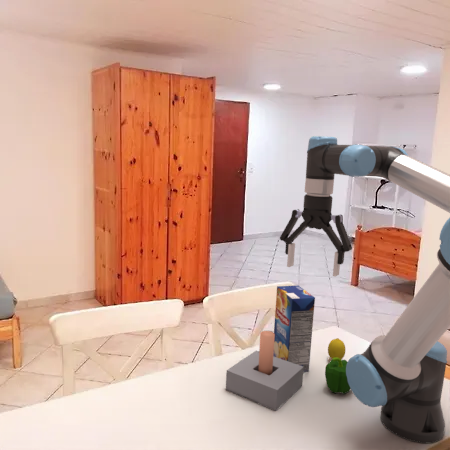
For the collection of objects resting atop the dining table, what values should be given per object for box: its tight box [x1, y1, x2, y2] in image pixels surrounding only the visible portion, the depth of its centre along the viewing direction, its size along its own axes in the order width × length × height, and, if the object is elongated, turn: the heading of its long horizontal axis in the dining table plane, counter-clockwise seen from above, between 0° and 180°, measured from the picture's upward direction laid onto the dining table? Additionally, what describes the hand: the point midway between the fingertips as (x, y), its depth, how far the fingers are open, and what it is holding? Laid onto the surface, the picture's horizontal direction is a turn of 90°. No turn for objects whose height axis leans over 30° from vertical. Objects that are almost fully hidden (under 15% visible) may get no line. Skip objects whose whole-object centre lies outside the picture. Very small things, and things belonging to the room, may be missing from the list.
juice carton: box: [273, 284, 316, 373], centre depth 141 cm, size 12×8×24 cm, turn 16°
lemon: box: [327, 338, 346, 360], centre depth 146 cm, size 6×6×8 cm
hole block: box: [225, 350, 304, 412], centre depth 128 cm, size 16×16×6 cm
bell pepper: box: [324, 357, 351, 395], centre depth 129 cm, size 8×8×10 cm
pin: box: [258, 330, 275, 375], centre depth 127 cm, size 4×4×16 cm
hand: (312, 270), depth 125 cm, fingers open, 13 cm apart
